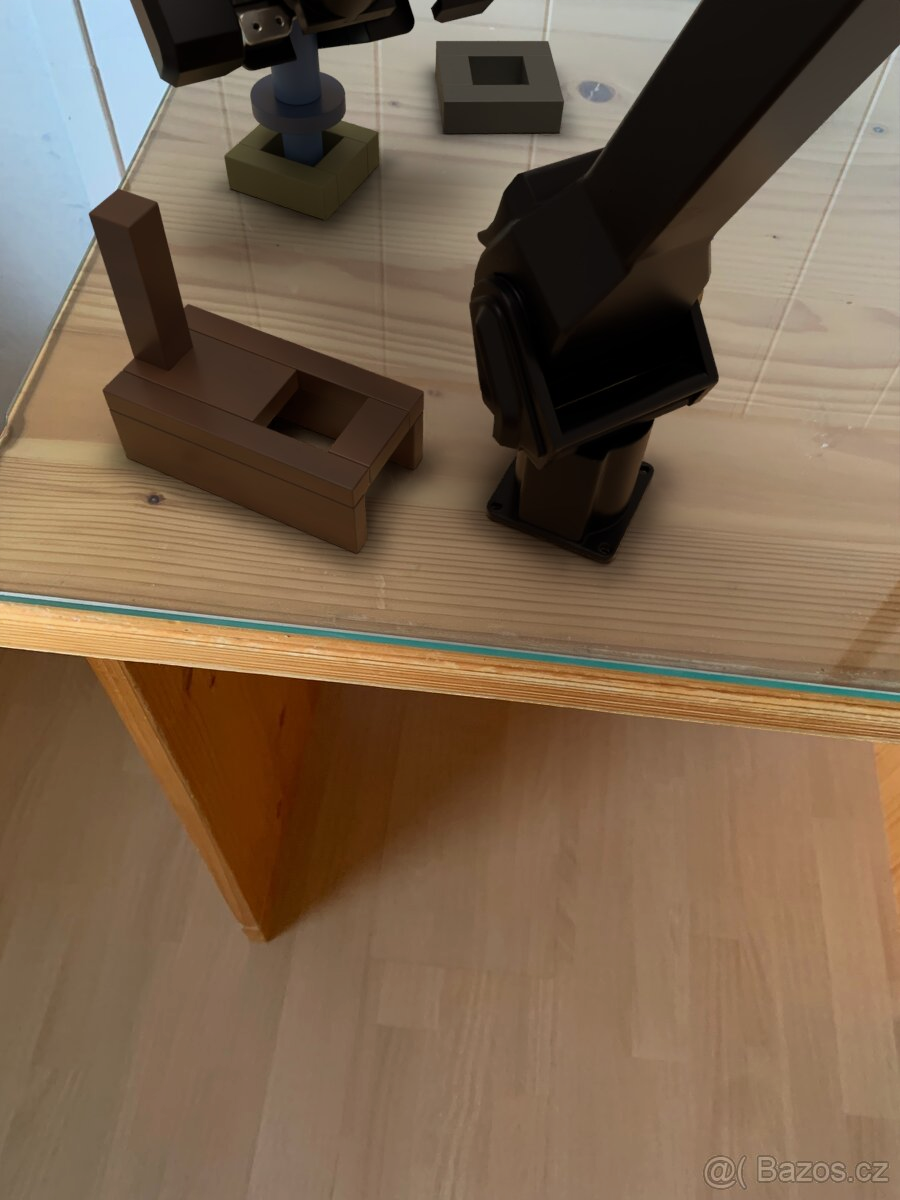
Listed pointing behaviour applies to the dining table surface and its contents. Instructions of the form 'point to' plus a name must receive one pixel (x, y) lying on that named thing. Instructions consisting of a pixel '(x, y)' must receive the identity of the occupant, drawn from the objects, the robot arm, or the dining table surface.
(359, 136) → the frame
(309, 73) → the peg
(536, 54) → the block
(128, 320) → the stand
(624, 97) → the dining table surface
